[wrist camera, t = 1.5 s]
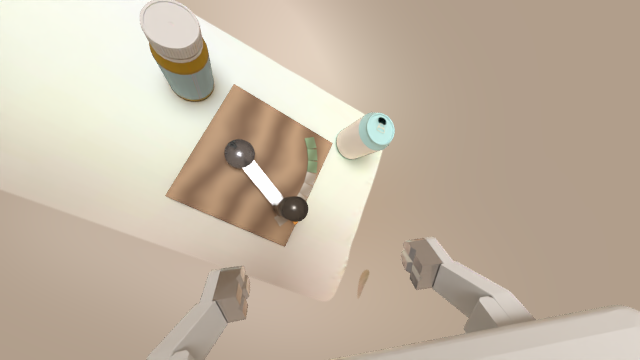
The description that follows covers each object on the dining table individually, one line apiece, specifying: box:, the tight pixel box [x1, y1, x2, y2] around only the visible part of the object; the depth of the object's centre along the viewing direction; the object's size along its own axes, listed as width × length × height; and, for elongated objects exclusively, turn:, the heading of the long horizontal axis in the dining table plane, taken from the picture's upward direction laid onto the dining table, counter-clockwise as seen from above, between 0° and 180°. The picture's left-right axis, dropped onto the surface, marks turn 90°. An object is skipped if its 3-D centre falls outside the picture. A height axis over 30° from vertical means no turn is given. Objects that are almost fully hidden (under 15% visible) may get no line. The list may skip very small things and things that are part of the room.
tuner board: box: [165, 84, 333, 246], centre depth 43 cm, size 22×23×1 cm
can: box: [337, 113, 395, 159], centre depth 46 cm, size 7×7×12 cm
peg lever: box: [224, 139, 308, 225], centre depth 37 cm, size 18×5×12 cm, turn 40°
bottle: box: [140, 0, 214, 101], centre depth 34 cm, size 7×7×15 cm
